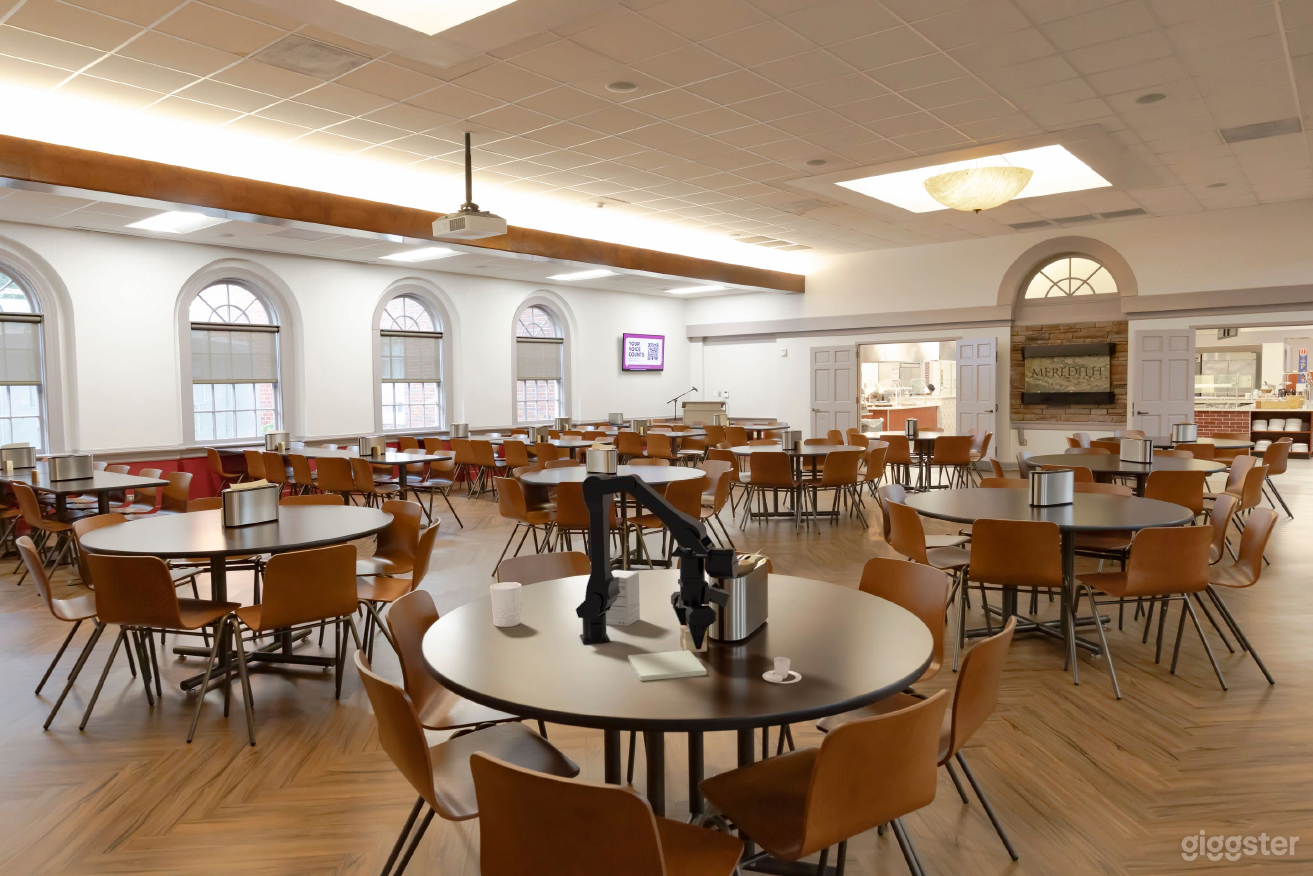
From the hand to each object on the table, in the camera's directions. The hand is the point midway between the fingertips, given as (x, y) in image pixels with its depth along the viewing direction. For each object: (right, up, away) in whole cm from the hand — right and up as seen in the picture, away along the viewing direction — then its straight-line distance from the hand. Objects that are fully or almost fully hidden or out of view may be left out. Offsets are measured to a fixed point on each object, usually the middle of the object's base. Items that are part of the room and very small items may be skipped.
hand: (693, 643), depth 190 cm
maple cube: (0, -1, 0) cm, 1 cm away
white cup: (-47, -1, +23) cm, 53 cm away
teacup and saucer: (+14, -3, -19) cm, 24 cm away
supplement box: (-17, -1, +24) cm, 30 cm away
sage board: (-6, -2, -13) cm, 14 cm away
